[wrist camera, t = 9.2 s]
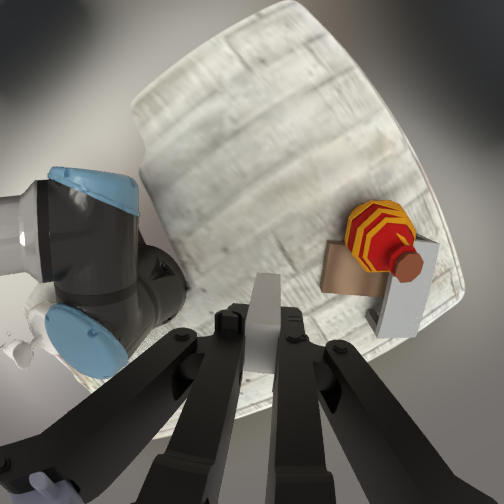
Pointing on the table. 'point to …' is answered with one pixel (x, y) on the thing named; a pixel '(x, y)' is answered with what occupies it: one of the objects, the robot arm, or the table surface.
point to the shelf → (406, 297)
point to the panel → (349, 274)
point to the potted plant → (23, 350)
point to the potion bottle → (383, 240)
